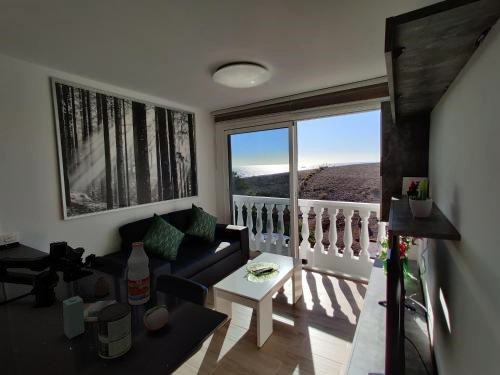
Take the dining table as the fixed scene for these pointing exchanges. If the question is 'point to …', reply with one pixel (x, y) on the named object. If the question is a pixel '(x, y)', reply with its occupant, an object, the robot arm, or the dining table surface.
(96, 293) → the vase
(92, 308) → the board
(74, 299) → the pillar
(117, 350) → the coffee can
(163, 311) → the decorative fruit
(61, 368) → the dining table surface
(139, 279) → the fruit juice
